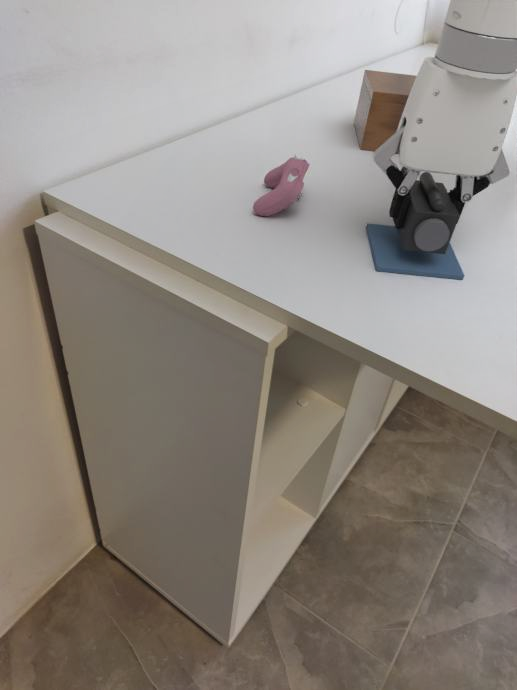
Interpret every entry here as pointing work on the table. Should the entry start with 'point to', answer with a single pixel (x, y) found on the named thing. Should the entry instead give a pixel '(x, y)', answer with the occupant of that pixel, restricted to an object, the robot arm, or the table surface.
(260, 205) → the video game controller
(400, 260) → the felt pad
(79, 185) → the table surface
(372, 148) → the wooden block
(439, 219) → the dark grey boxy piece
